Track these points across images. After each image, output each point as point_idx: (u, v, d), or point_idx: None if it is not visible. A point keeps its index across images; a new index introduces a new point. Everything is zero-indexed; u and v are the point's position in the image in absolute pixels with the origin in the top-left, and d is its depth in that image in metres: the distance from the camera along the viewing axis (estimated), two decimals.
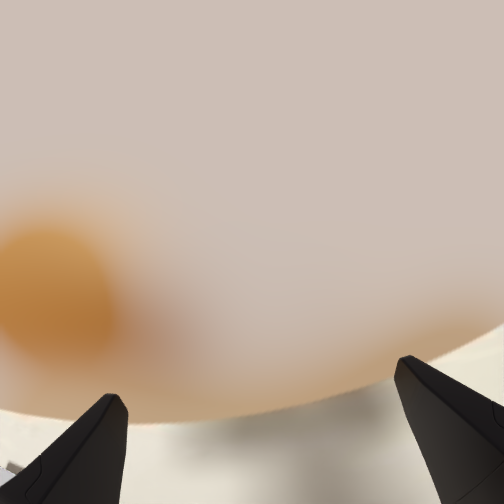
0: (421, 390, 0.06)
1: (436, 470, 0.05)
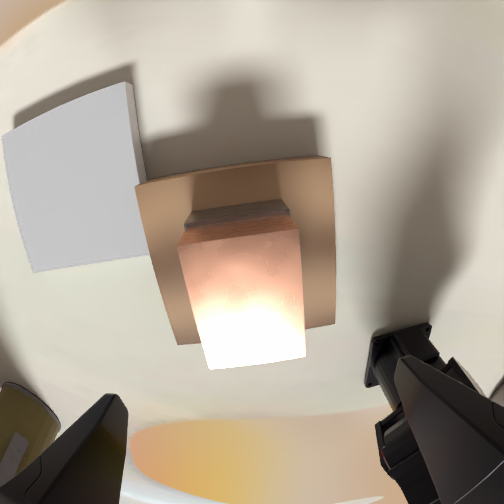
0: (421, 390, 0.06)
1: (436, 470, 0.05)
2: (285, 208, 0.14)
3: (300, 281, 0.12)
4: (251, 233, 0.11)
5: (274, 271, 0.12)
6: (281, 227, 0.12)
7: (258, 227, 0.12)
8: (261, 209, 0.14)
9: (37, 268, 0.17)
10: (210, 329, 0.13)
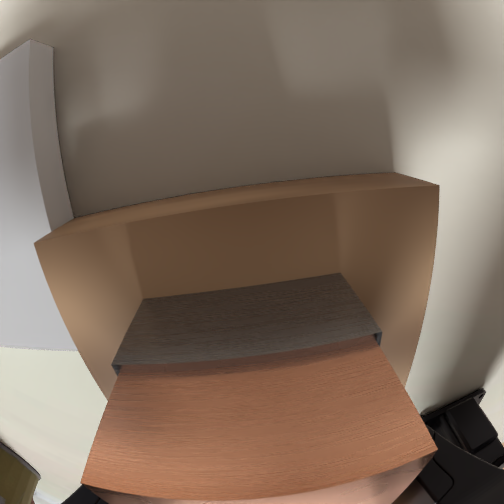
0: None
1: None
2: (370, 328, 0.05)
3: (390, 500, 0.03)
4: (298, 476, 0.03)
5: None
6: (386, 437, 0.03)
7: (316, 437, 0.03)
8: (307, 325, 0.05)
9: None
10: None
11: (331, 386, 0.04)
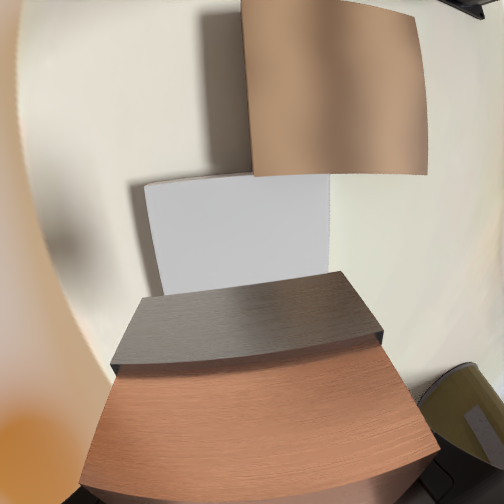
0: None
1: None
2: (372, 326, 0.05)
3: (392, 501, 0.03)
4: (300, 477, 0.03)
5: None
6: (388, 436, 0.03)
7: (317, 437, 0.03)
8: (308, 324, 0.05)
9: None
10: None
11: (332, 385, 0.04)
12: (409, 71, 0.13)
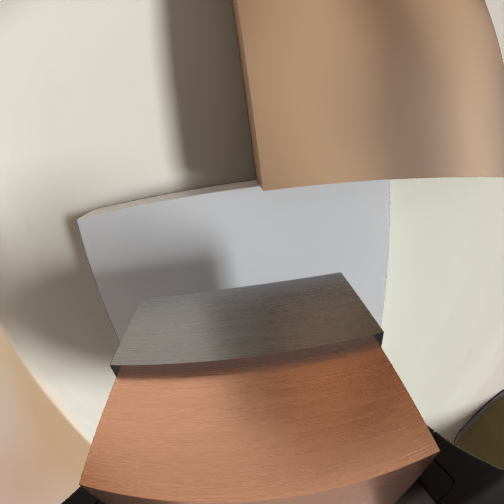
0: None
1: None
2: (372, 328, 0.05)
3: (391, 502, 0.03)
4: (299, 478, 0.03)
5: None
6: (387, 438, 0.03)
7: (317, 438, 0.03)
8: (308, 325, 0.05)
9: None
10: None
11: (332, 387, 0.04)
12: (480, 25, 0.06)
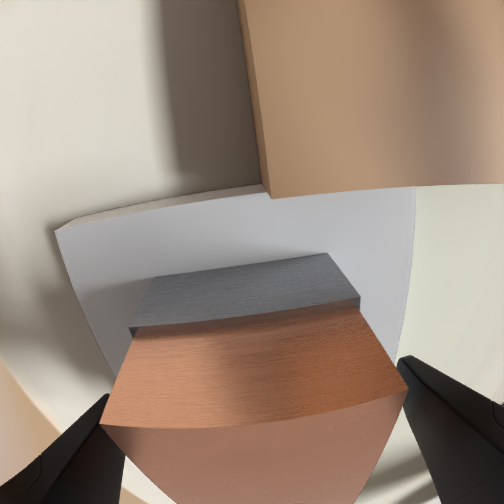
0: (421, 390, 0.06)
1: (436, 470, 0.05)
2: (351, 294, 0.06)
3: (377, 455, 0.04)
4: (288, 406, 0.04)
5: (330, 457, 0.04)
6: (362, 377, 0.04)
7: (302, 375, 0.04)
8: (296, 292, 0.06)
9: None
10: None
11: (316, 338, 0.05)
12: None
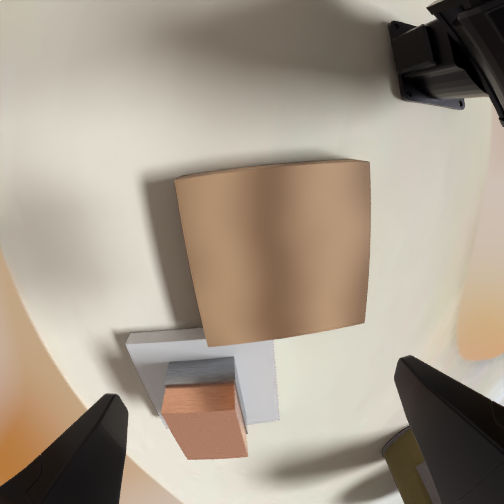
0: (421, 390, 0.06)
1: (436, 470, 0.05)
2: (232, 378, 0.18)
3: (239, 429, 0.17)
4: (206, 408, 0.16)
5: (221, 425, 0.16)
6: (225, 404, 0.16)
7: (211, 401, 0.16)
8: (216, 375, 0.19)
9: (276, 416, 0.23)
10: (186, 444, 0.17)
11: (217, 391, 0.17)
12: (353, 235, 0.17)
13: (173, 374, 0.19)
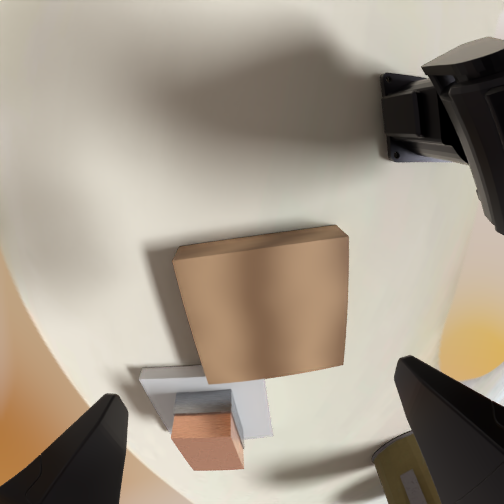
0: (421, 390, 0.06)
1: (436, 470, 0.05)
2: (229, 409, 0.21)
3: (235, 449, 0.19)
4: (207, 435, 0.19)
5: (220, 446, 0.19)
6: (223, 431, 0.19)
7: (211, 429, 0.19)
8: (216, 406, 0.21)
9: (270, 433, 0.26)
10: (192, 459, 0.20)
11: (217, 420, 0.20)
12: (332, 299, 0.19)
13: (180, 404, 0.22)
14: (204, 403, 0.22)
